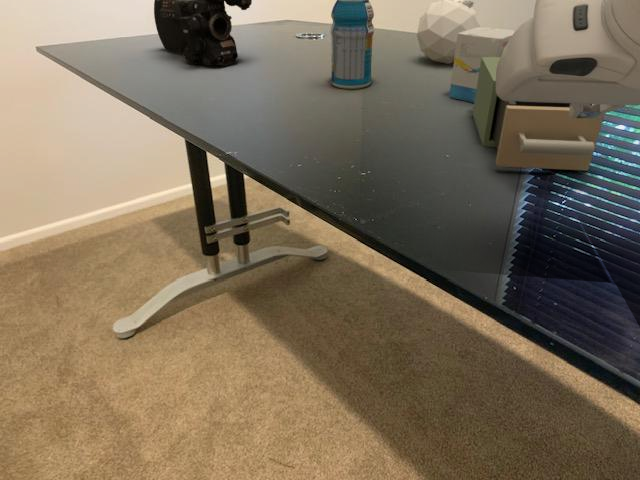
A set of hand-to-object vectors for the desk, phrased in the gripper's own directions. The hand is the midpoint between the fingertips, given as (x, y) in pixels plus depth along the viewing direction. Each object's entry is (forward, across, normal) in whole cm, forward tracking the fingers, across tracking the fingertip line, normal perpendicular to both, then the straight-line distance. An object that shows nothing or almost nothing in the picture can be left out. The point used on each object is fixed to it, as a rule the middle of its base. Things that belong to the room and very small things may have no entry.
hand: (584, 112), depth 52 cm
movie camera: (+58, +68, -41) cm, 98 cm away
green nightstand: (+26, 0, -10) cm, 28 cm away
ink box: (+39, +4, -23) cm, 46 cm away
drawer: (+17, 0, -2) cm, 17 cm away
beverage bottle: (+43, +29, -27) cm, 59 cm away
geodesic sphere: (+59, +9, -43) cm, 73 cm away
